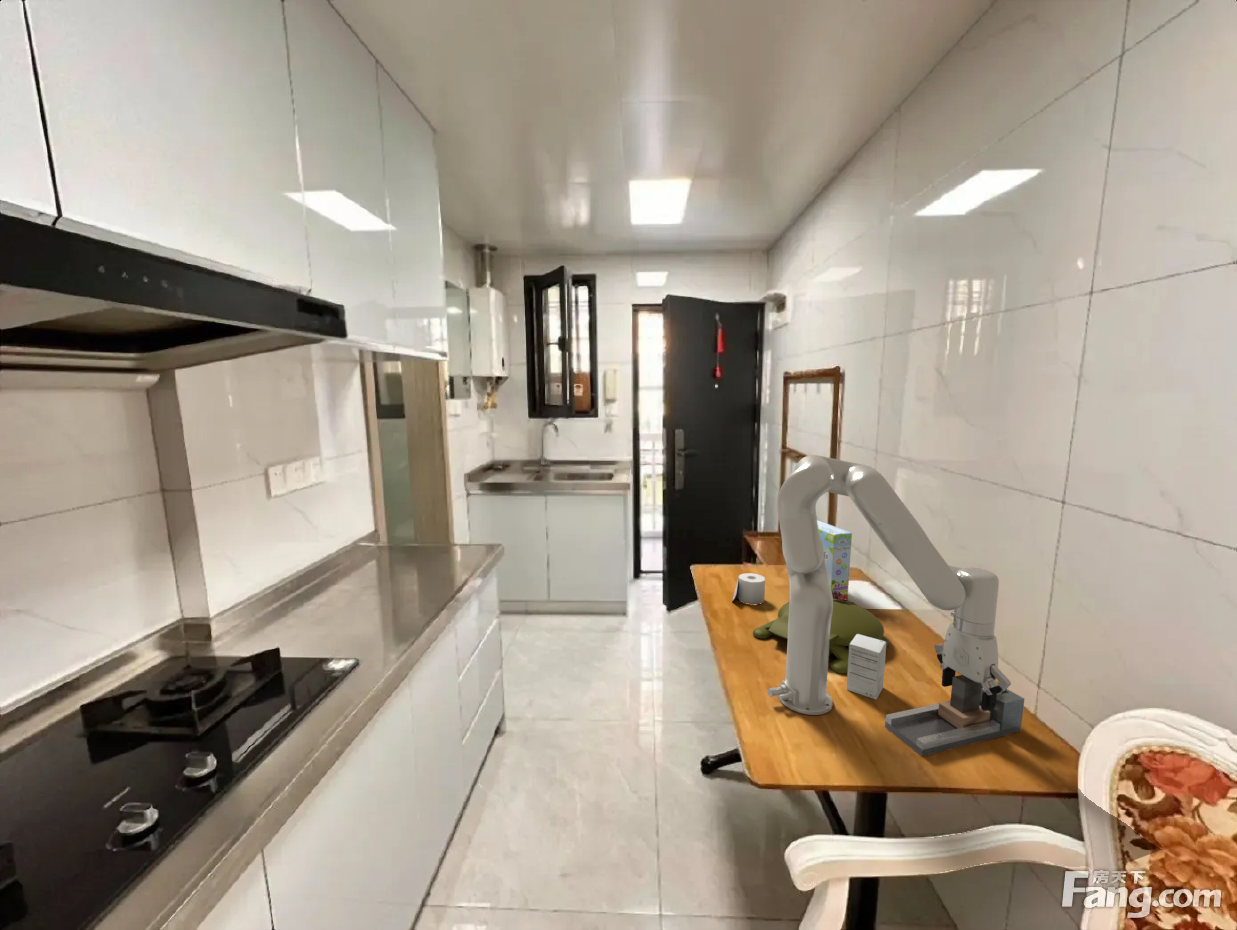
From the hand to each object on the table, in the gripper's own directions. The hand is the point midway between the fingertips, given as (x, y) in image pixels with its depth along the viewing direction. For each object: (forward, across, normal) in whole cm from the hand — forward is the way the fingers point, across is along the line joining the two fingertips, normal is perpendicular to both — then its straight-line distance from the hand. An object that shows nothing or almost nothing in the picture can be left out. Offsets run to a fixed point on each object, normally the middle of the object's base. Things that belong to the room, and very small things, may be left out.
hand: (967, 696), depth 117 cm
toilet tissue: (+7, -78, -10) cm, 79 cm away
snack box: (+7, -78, +22) cm, 81 cm away
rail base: (+7, 0, -3) cm, 8 cm away
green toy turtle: (+8, -46, -1) cm, 47 cm away
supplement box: (+7, -19, -10) cm, 23 cm away
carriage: (+6, 0, 0) cm, 6 cm away
